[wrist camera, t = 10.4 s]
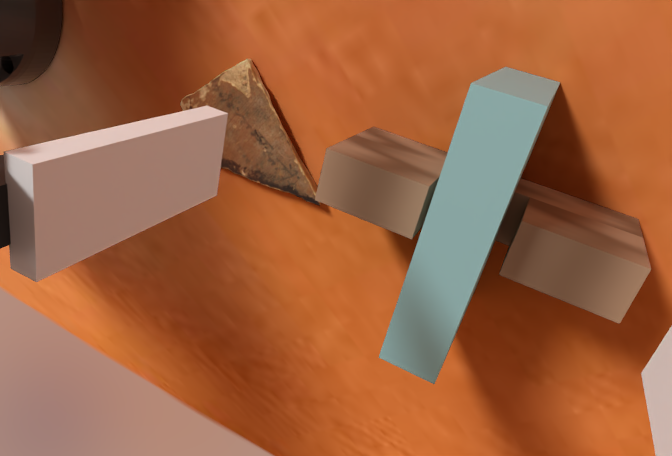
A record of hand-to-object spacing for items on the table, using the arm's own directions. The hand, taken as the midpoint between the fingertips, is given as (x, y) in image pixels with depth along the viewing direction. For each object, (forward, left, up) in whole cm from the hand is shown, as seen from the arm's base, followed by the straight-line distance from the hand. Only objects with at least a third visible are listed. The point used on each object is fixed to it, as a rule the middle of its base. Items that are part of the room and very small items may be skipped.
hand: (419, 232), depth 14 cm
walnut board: (0, -4, -18) cm, 19 cm away
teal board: (0, -4, -18) cm, 19 cm away
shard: (-16, -5, -19) cm, 25 cm away
